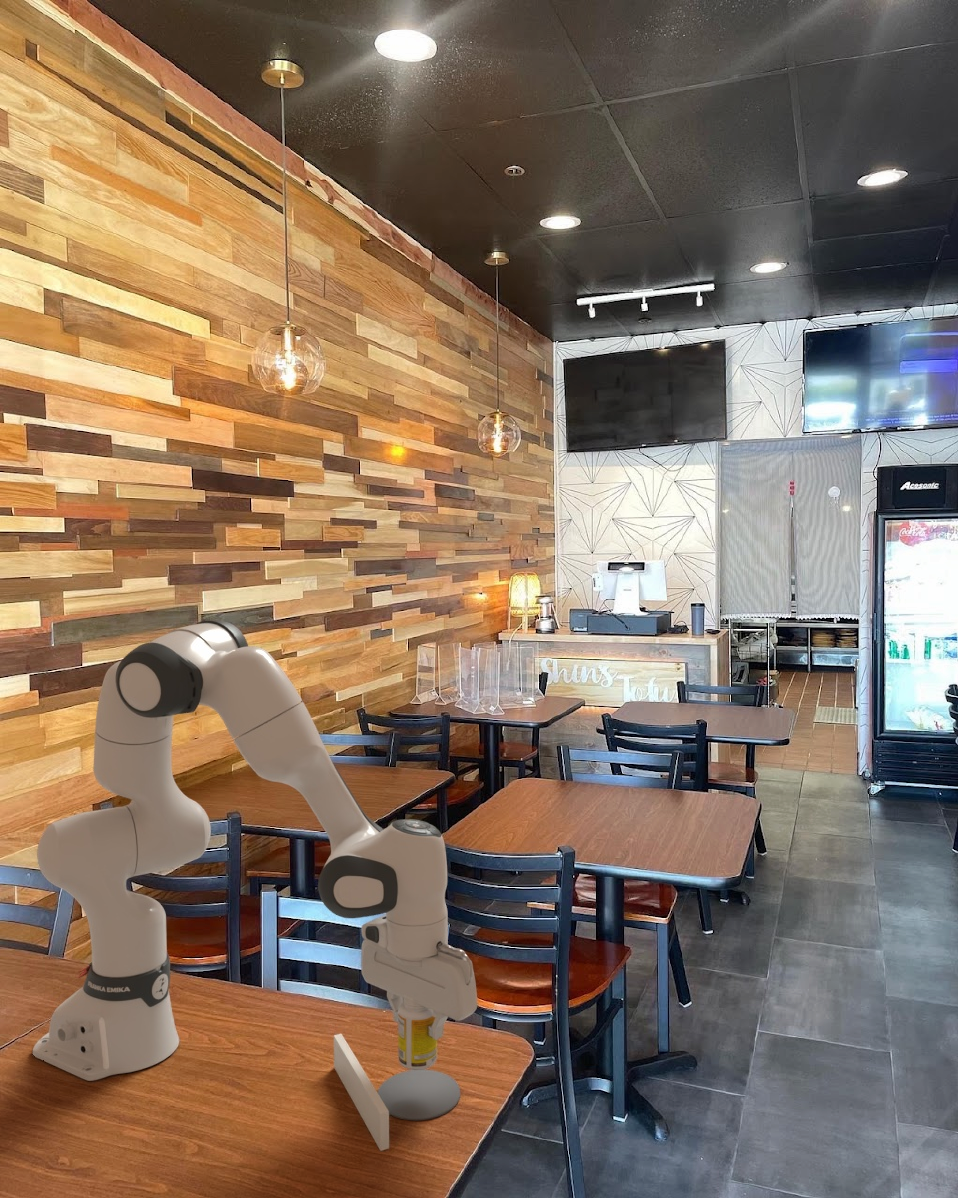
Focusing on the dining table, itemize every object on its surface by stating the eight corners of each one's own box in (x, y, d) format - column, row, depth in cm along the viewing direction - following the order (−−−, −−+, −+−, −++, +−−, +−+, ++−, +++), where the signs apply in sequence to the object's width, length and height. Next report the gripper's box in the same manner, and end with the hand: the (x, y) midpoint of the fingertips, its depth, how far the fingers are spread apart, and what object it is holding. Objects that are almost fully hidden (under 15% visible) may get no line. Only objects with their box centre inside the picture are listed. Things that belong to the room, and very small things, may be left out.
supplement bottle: (444, 1057, 133) (444, 988, 132) (423, 1076, 128) (423, 1004, 127) (412, 1047, 135) (411, 980, 135) (390, 1065, 130) (390, 995, 130)
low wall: (389, 1148, 120) (388, 1111, 120) (380, 1151, 120) (380, 1113, 119) (341, 1065, 140) (341, 1033, 140) (334, 1067, 140) (333, 1035, 139)
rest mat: (362, 1110, 129) (362, 1107, 129) (398, 1066, 140) (398, 1063, 140) (441, 1128, 124) (441, 1125, 124) (472, 1081, 136) (472, 1078, 136)
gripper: (486, 946, 127) (487, 1044, 127) (384, 911, 140) (385, 1000, 140) (456, 961, 122) (457, 1063, 122) (353, 923, 135) (354, 1015, 136)
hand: (417, 1029), depth 131 cm, fingers closed on supplement bottle, 5 cm apart
